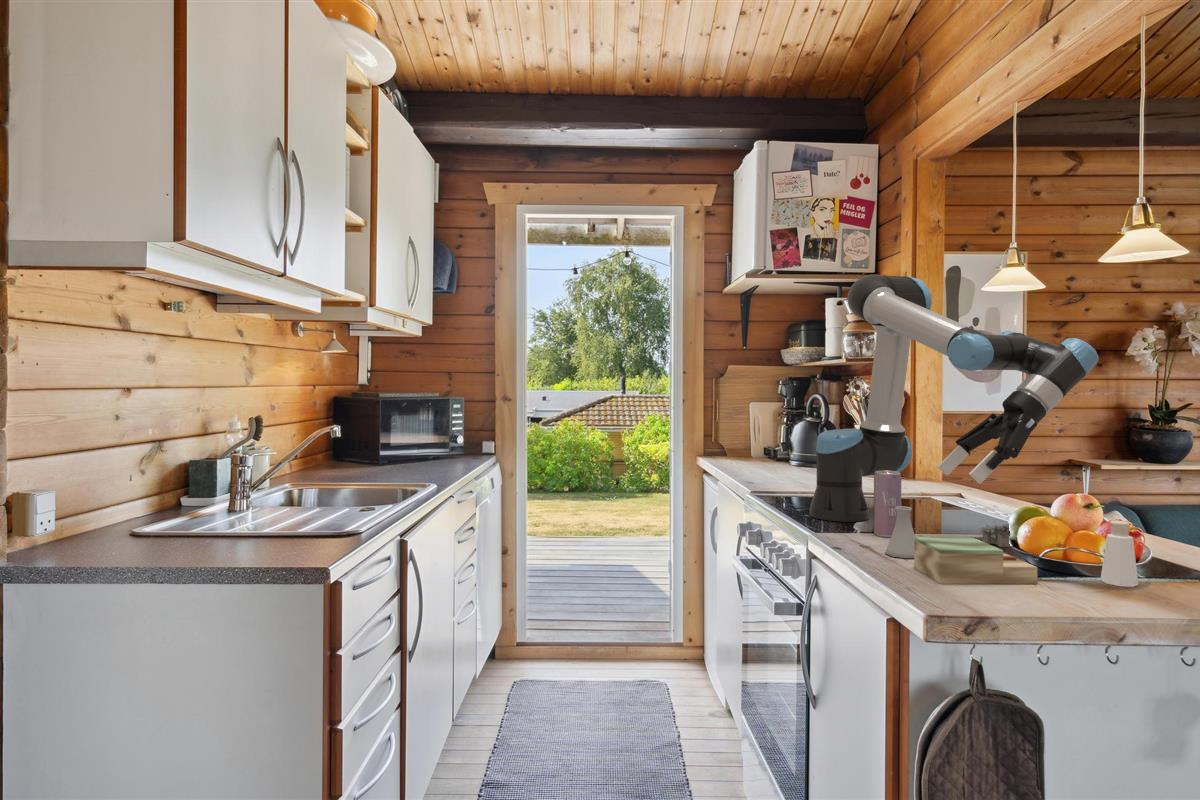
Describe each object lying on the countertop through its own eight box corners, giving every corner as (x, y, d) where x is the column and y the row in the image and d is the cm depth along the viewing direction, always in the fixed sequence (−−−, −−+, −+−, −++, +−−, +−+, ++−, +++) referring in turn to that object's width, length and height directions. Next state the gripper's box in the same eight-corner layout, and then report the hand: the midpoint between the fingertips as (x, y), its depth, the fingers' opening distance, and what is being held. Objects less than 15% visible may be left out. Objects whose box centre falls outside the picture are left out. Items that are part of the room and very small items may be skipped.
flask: (926, 560, 140) (926, 511, 140) (888, 558, 142) (888, 510, 142) (917, 552, 147) (917, 505, 147) (881, 550, 149) (881, 504, 149)
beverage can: (898, 533, 166) (898, 470, 165) (903, 538, 160) (903, 473, 160) (871, 532, 167) (872, 470, 167) (875, 537, 161) (876, 473, 161)
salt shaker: (1120, 588, 121) (1121, 525, 120) (1092, 579, 126) (1093, 519, 126) (1146, 586, 122) (1147, 523, 122) (1117, 577, 127) (1118, 518, 127)
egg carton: (1005, 549, 151) (1005, 530, 150) (975, 542, 158) (975, 524, 157) (1039, 545, 154) (1040, 526, 154) (1009, 538, 161) (1009, 520, 161)
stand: (914, 567, 135) (914, 536, 135) (1002, 567, 134) (1003, 536, 134) (940, 583, 124) (940, 550, 124) (1037, 584, 123) (1037, 550, 123)
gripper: (1084, 416, 131) (1004, 496, 131) (1009, 412, 156) (942, 480, 156) (1056, 388, 131) (975, 468, 131) (985, 389, 156) (918, 456, 156)
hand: (957, 474), depth 144 cm, fingers open, 13 cm apart
